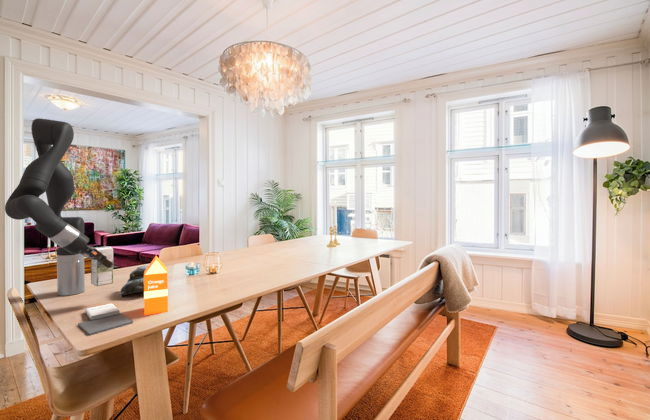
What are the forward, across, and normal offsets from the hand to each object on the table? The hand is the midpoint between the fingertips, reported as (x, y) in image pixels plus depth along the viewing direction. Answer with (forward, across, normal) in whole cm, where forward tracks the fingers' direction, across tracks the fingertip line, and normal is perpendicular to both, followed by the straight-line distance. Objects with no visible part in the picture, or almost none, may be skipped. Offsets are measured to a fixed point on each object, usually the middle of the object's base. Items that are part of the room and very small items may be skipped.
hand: (107, 264), depth 121 cm
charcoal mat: (+4, -23, +17) cm, 29 cm away
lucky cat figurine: (+20, +2, +2) cm, 20 cm away
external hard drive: (+6, -12, +15) cm, 21 cm away
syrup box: (+4, 0, +6) cm, 8 cm away
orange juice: (+16, -23, +6) cm, 29 cm away
